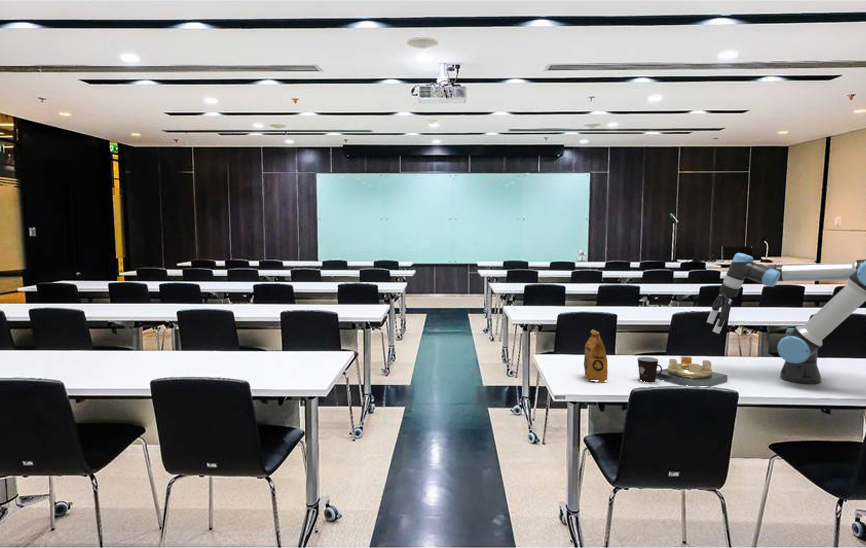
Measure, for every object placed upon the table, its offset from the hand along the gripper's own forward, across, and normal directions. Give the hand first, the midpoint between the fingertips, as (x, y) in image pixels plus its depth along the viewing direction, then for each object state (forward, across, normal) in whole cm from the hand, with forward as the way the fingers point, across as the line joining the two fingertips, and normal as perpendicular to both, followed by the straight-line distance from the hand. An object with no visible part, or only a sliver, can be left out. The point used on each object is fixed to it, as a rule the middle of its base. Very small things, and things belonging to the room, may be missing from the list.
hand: (712, 327), depth 252 cm
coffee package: (+33, +28, -45) cm, 62 cm away
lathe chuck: (+19, +19, -7) cm, 27 cm away
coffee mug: (+26, +27, -23) cm, 44 cm away
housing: (+22, +19, -6) cm, 29 cm away
